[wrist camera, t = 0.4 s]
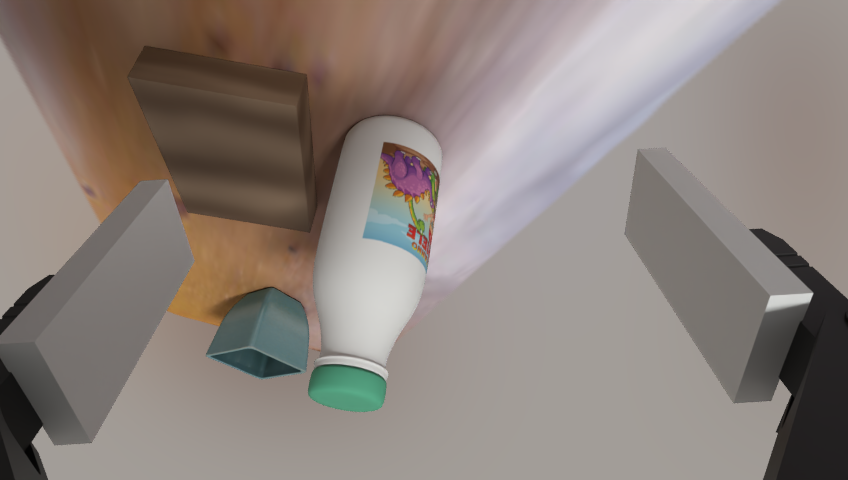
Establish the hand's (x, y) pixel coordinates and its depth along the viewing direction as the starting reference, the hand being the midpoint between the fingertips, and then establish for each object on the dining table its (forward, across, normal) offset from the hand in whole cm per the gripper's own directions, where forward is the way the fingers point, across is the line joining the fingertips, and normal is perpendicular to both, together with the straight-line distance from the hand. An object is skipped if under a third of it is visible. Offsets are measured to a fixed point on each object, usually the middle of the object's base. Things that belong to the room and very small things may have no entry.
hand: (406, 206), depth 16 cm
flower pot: (+43, -19, -35) cm, 59 cm away
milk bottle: (+27, -2, -9) cm, 29 cm away
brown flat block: (+29, -14, -8) cm, 33 cm away
